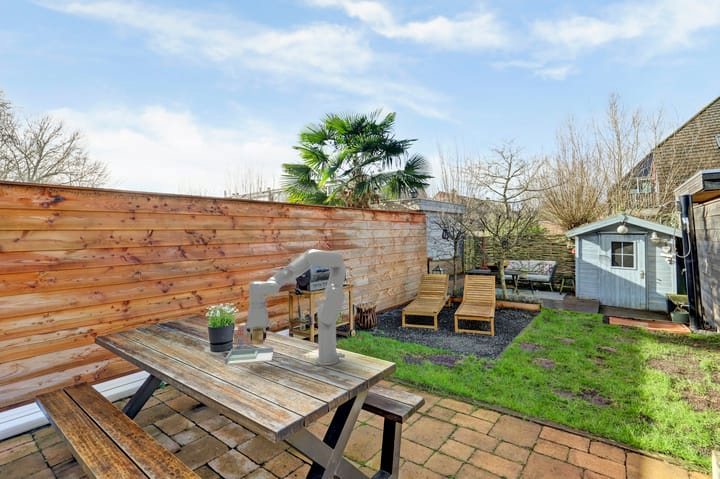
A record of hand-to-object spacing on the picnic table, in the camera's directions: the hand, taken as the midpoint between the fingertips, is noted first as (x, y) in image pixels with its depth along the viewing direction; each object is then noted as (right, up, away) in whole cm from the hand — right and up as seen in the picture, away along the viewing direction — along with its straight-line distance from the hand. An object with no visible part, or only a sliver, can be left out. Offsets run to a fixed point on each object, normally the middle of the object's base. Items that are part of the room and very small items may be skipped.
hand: (258, 340), depth 174 cm
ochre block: (0, -1, 0) cm, 1 cm away
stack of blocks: (-24, -15, +44) cm, 53 cm away
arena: (-9, -15, +16) cm, 23 cm away
